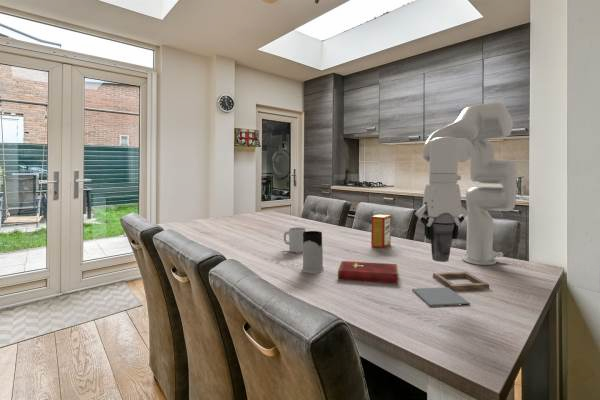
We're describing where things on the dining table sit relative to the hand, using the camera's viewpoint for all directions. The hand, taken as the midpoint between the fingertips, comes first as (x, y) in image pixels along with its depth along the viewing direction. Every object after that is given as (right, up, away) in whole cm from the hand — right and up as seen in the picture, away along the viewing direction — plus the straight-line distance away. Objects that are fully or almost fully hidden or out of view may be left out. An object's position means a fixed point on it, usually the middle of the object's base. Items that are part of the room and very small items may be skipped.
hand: (441, 238), depth 93 cm
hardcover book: (-17, -18, +22) cm, 33 cm away
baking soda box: (-1, -12, +67) cm, 68 cm away
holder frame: (+13, -17, +14) cm, 25 cm away
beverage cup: (0, -7, +1) cm, 7 cm away
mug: (-45, -14, +60) cm, 76 cm away
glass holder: (-37, -16, +33) cm, 52 cm away
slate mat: (0, -19, +2) cm, 19 cm away
